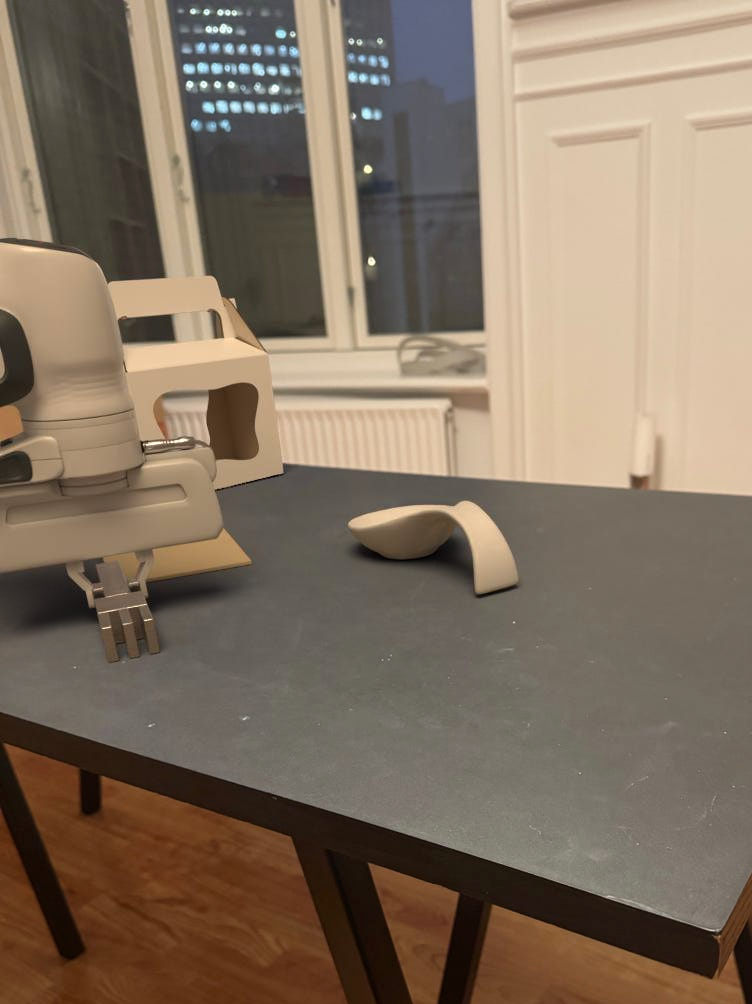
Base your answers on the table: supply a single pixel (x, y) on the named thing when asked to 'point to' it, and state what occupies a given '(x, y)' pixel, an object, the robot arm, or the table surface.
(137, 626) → the fork
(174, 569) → the place mat
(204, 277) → the gable box
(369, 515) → the spoon rest
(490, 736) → the table surface
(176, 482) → the robot arm
